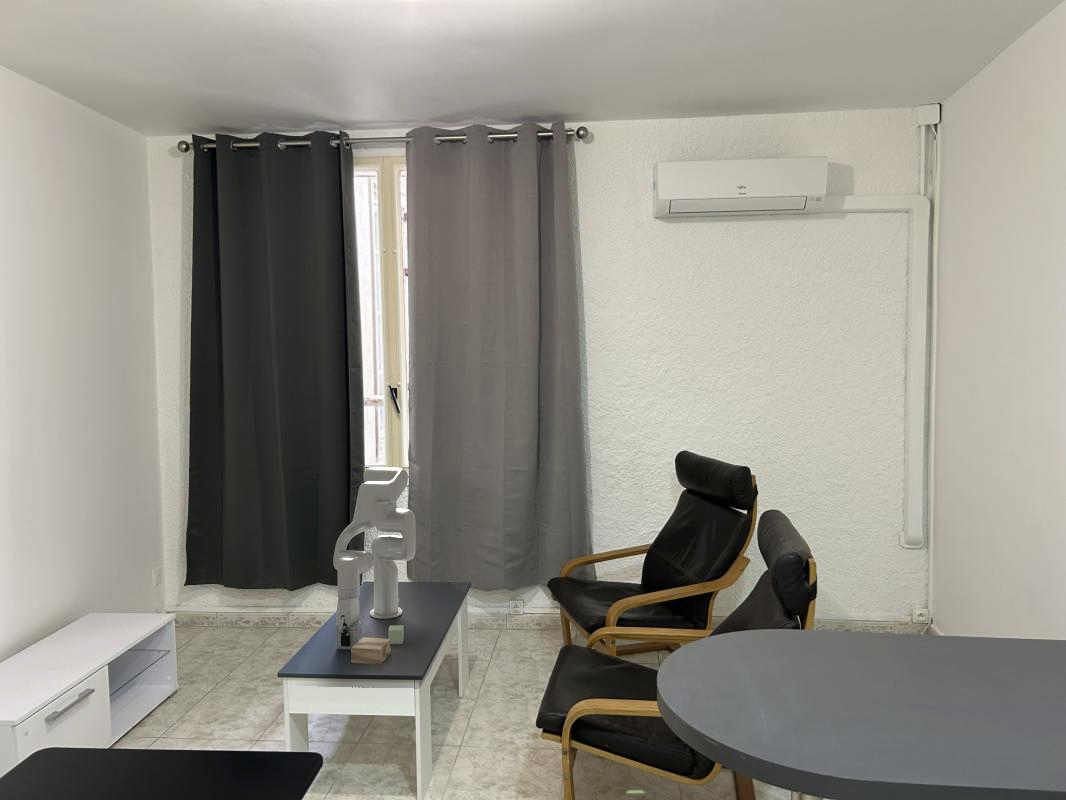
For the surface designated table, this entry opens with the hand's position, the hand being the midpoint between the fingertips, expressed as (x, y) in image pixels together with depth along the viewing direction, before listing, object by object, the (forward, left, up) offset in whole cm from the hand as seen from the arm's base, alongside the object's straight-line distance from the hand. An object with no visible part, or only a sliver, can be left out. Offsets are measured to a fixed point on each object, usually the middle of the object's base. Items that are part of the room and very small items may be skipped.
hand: (349, 642), depth 262 cm
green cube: (-9, +14, -2) cm, 17 cm away
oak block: (+7, +11, -2) cm, 13 cm away
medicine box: (0, 0, -2) cm, 2 cm away
